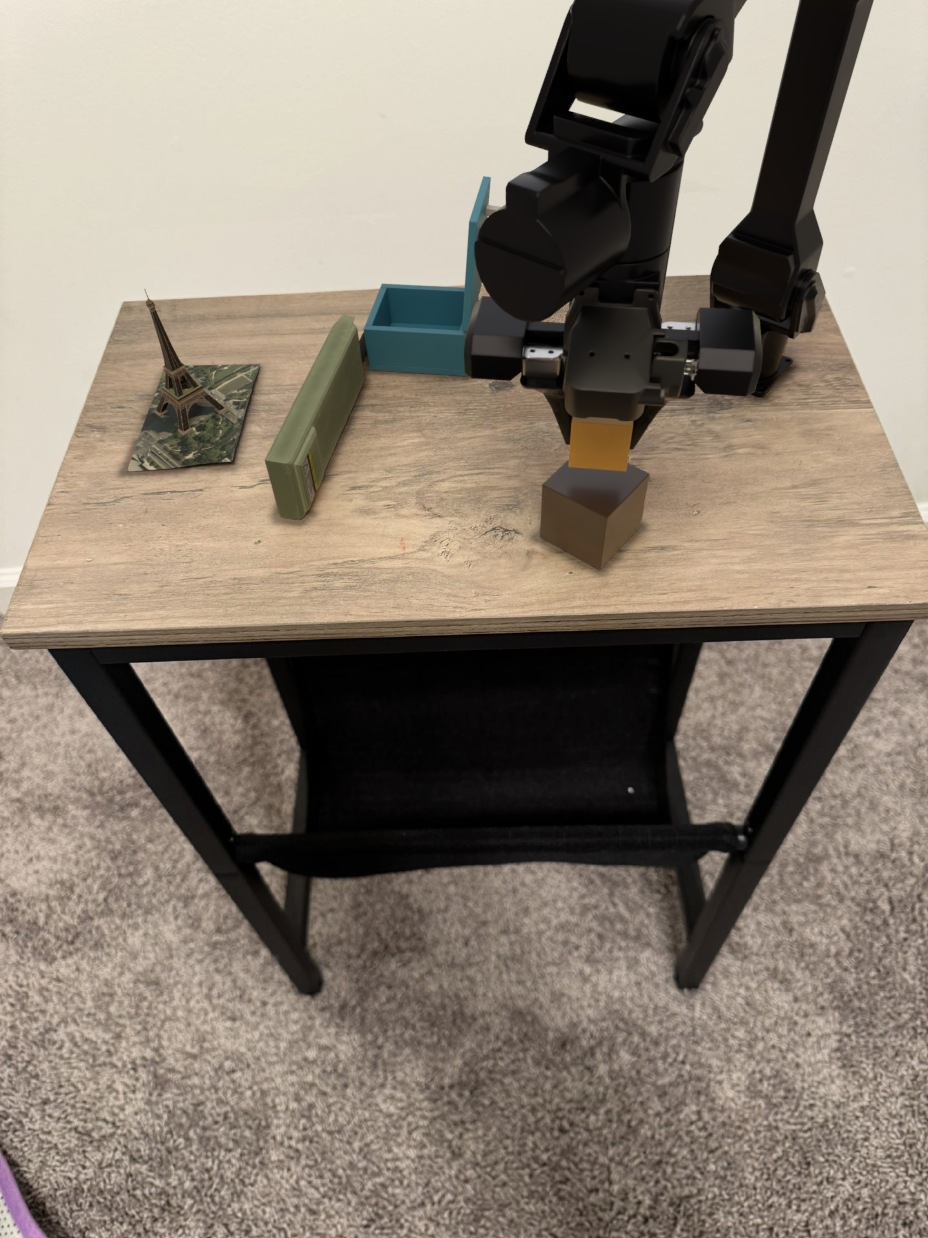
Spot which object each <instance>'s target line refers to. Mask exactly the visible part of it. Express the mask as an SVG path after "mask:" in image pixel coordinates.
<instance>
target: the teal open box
mask: <svg viewBox="0 0 928 1238" xmlns="http://www.w3.org/2000/svg"><path fill="white" fill-rule="evenodd" d="M464 290H465V287H458V286H438V285H419V284H399V283H398V284H397V283H381V285H380V287H379V289H378V292H377V294H376V297H375V300H374V302H373V305H372V306H371V310H370V312H369V314H368V317H367V319H366V322H365V324H364V327H363V332H364V336H365V342H366V348H367V360H368V366H369V371H377V372H378V371H381V372H395V373H396V372H397V373H409V374H410V373H411V374H425V375H442V376H457V377H469V376H468V375H467V374H466V373H465V366H464V343H465V337H466V333H467V331H462V320H463V305H464ZM479 299H480V297H478V300H477V302H478V301H479Z"/></svg>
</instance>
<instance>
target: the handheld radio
mask: <svg viewBox="0 0 928 1238" xmlns="http://www.w3.org/2000/svg"><path fill="white" fill-rule="evenodd" d="M354 320H355V316H353V315H348V314H341V316H340V317H339V319H338V320H337V321H335V323H333V325H332V326H331V329H330V330H329V332H328V334H327V336H326V338H325V340H324V342H323V344H322V346H321V348H320V350H319V351H318V354H317V355H316V358H315V360H314V362H313V364H312V366H311V367H310V369H309V371H308V373H307V375H306V377H305V379H304V381H303V383H302V385H301V387H300V388H299V391H298V393H297V395H296V397H295V399H294V400H293V403H292V404H291V407H290V409H289V411H288V412H287V415H286V417H285V419H284V420H283V423H282V424H281V426H280V428H279V430H278V431H277V434H276V435H275V438H274V440H273V442H272V443H271V446H270V448H269V450H268V452H267V453H266V456H265V458H264V463H265V467H266V471H267V474H268V478H269V482H270V485H271V489H272V493H273V496H274V497H273V498H274V500H275V504H276V508H277V512H278V514H279V516H280V517H281V518H282V519H289V520H298V521H300V520H302V519H303V518H304V517H305V516H306V514H307V512H308V511H309V510H310V508H311V506H312V504H313V502H314V499H315V497H316V496H317V493H318V491H319V489H320V486H321V483H322V481H323V479H324V477H325V471H326V468H328V467H327V466H328V464H329V462H330V460H331V457H332V455H333V452H334V451H335V449H336V447H337V444H338V442H339V439H340V437H341V435H342V432H343V430H344V428H345V426H346V423H347V421H348V419H349V416H350V414H351V412H352V410H353V407H354V405H355V403H356V401H357V398H358V396H359V395H360V392H361V390H362V387H363V385H364V382H365V377H364V369H363V364H364V362H365V360H366V358H367V357H368V354H367V348H366V342H365V336H364V331H363V332H362V334H361V336H360V338H359V330H358V327H357V326H356V324H355V323H354Z"/></svg>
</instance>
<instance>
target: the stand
mask: <svg viewBox="0 0 928 1238" xmlns="http://www.w3.org/2000/svg"><path fill="white" fill-rule="evenodd" d="M568 463H569V459H567V461H565V462H564V463H563V464H562V465H561V466H560V467H559V468H558V469H557V470H556V471H555V472H553V474H551V475H550V476H549V477H548V478H547V479H546V480H545V481H544V482H543V483H542V484H541V502H540V524H539V525H540V527H539V538H541V539H542V540H544V541H546V542H548V543H550V544H551V545H553V546H554V547H555V546H556V547H557V548H559V549H560V550H562V551H565V552H566V553H568V554H570V555H572V556H573V557H575V558H577V559H579V560H580V561H581V562H582V561H583V562H584V563H586V564H588V565H590V566H591V567H593V568H595V569H597V570H598V571H601V570H602V569H603V568H604V567H605V566H606V565H607V563H609V562H610V561H611V559H612V558H613V557H614V556H615V555H616V554H617V553H618V552H619V551H620V550H621V548H622V547H623V546H624V545H626V543H627V542H628V541H629V540H630V538H632V536H634V534H635V533H636V532H637V531H638V530H639V529H640V528H641V525H642V519H643V514H644V510H645V509H644V508H645V503H646V497H647V492H648V487H649V480H650V475H651V474H650V473H649V472H647V471H645V470H643V469H641V468H639V467H637V466H635V465H633V464H631V463H627V469H626V472H625V471H612V470H599V469H587V468H574V467H568Z"/></svg>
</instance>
